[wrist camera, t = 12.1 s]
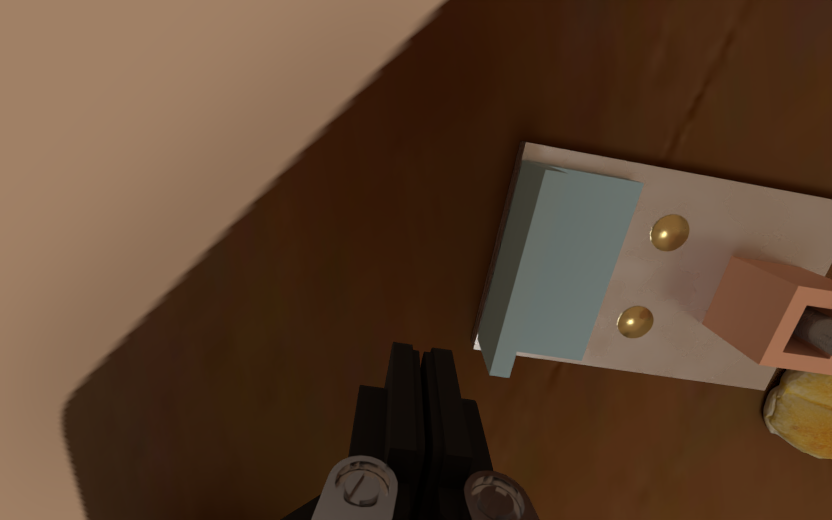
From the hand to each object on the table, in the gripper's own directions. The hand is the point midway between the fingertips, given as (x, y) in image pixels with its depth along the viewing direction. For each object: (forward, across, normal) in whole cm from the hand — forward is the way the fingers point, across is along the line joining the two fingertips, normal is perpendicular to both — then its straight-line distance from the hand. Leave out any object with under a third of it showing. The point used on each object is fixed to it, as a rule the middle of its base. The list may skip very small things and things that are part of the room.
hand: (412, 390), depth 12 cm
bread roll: (+17, -34, +8) cm, 39 cm away
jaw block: (+15, -24, 0) cm, 28 cm away
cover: (+15, -9, 0) cm, 18 cm away
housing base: (+17, -17, 0) cm, 24 cm away
